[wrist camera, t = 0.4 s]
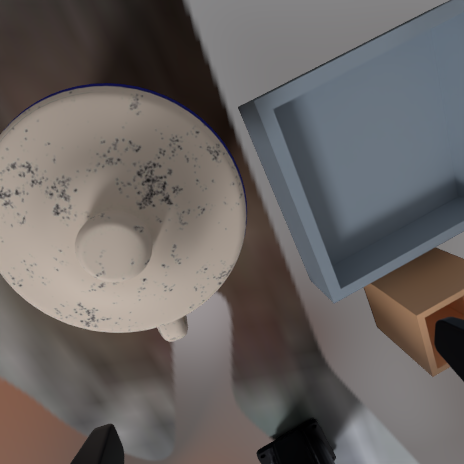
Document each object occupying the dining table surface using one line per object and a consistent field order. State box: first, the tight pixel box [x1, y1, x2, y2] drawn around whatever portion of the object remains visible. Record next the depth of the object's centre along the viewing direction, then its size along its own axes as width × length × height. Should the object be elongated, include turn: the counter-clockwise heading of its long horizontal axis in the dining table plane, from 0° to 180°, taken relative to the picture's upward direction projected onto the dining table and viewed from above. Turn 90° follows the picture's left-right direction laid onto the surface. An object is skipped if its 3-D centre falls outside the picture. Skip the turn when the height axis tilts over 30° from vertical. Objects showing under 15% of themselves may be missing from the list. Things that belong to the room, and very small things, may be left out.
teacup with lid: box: [0, 83, 247, 341], centre depth 14 cm, size 12×9×12 cm
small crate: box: [364, 247, 464, 377], centre depth 23 cm, size 6×6×6 cm
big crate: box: [238, 0, 464, 303], centre depth 20 cm, size 14×14×4 cm
